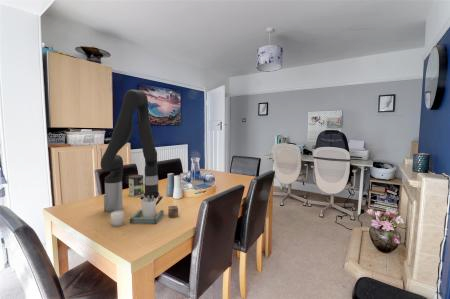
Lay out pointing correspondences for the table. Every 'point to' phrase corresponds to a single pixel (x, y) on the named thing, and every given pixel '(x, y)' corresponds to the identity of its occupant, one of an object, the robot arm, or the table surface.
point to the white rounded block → (117, 218)
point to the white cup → (148, 208)
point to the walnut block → (172, 211)
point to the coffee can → (136, 185)
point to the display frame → (136, 218)
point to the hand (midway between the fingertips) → (152, 212)
